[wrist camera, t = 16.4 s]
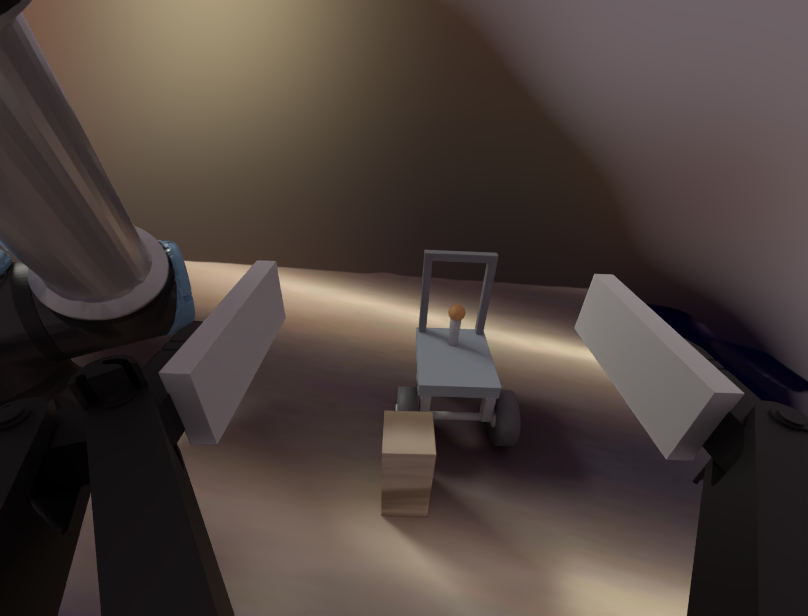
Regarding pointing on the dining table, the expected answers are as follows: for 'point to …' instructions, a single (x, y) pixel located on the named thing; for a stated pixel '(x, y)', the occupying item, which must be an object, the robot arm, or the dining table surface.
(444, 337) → the trolley
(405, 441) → the block
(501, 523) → the dining table surface
